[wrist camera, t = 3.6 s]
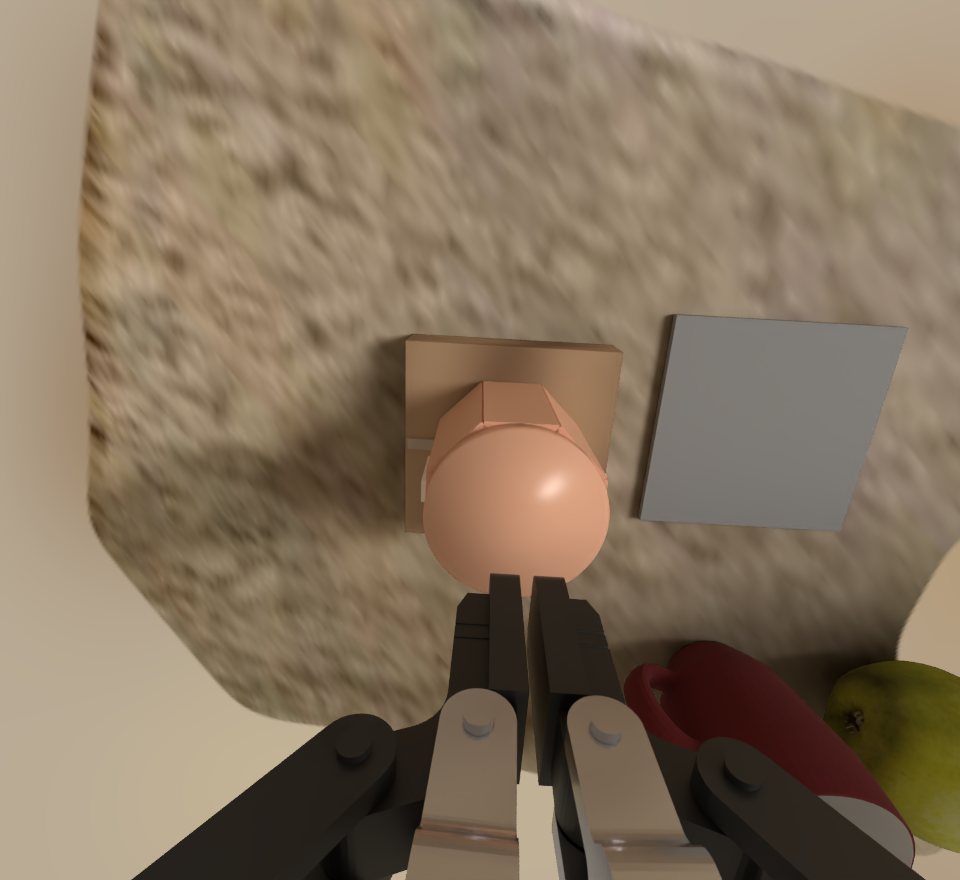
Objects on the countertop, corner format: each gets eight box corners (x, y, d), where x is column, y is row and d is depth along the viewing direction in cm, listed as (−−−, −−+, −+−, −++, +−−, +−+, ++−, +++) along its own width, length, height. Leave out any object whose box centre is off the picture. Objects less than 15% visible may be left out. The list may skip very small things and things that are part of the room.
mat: (901, 326, 22) (908, 327, 22) (835, 527, 25) (840, 531, 25) (674, 313, 22) (677, 314, 22) (638, 516, 25) (640, 520, 25)
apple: (897, 753, 31) (1030, 914, 23) (765, 711, 30) (858, 864, 22) (983, 658, 28) (1164, 804, 20) (842, 609, 27) (976, 743, 20)
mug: (568, 682, 29) (604, 883, 20) (634, 574, 27) (712, 745, 17) (726, 737, 30) (831, 951, 21) (804, 638, 28) (964, 831, 18)
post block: (612, 345, 23) (662, 379, 16) (587, 522, 26) (620, 612, 19) (412, 333, 23) (380, 364, 16) (411, 512, 26) (383, 599, 19)
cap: (582, 386, 21) (622, 436, 15) (567, 512, 23) (596, 601, 17) (434, 378, 21) (416, 425, 15) (431, 506, 23) (414, 592, 17)
